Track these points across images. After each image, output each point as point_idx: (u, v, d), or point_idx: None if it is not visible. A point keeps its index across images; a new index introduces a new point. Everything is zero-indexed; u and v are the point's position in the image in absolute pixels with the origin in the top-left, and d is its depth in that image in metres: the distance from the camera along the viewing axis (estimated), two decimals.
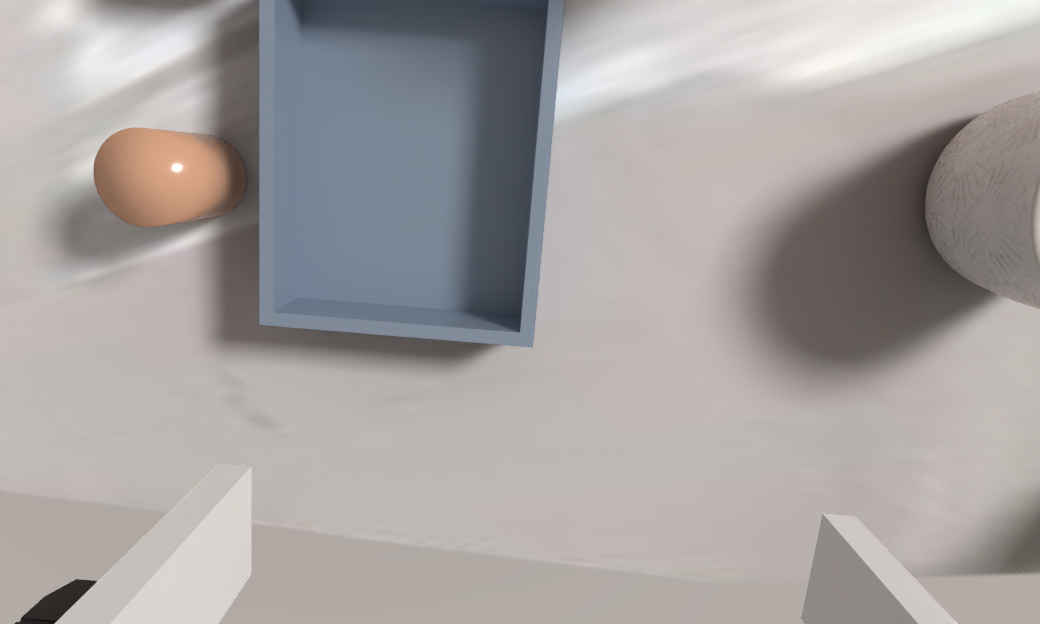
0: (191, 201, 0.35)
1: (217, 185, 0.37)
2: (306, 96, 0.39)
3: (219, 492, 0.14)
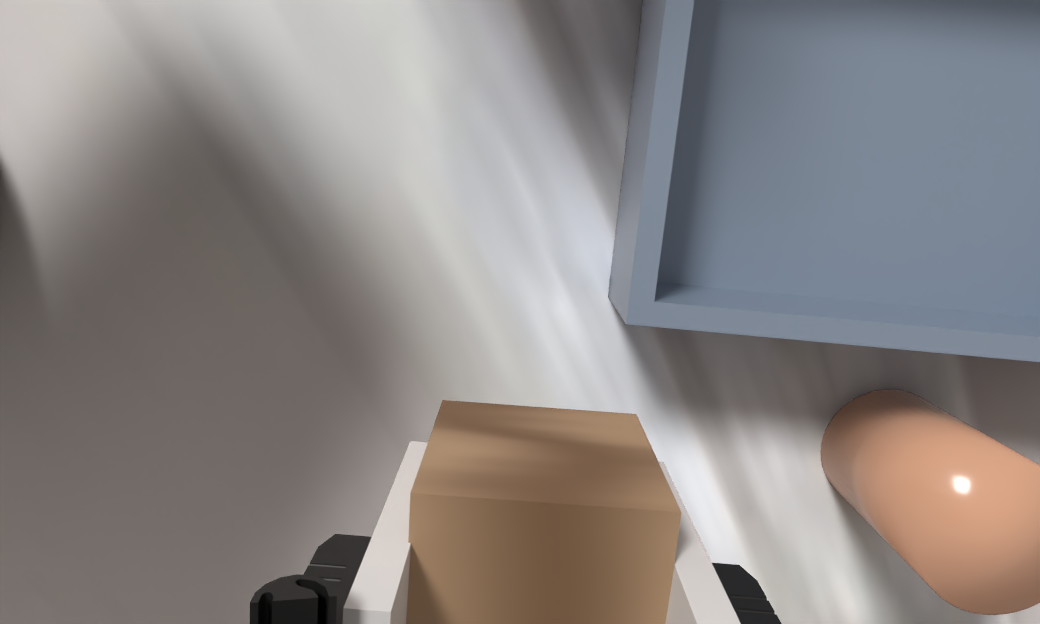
0: None
1: (966, 428, 0.22)
2: (788, 286, 0.25)
3: None
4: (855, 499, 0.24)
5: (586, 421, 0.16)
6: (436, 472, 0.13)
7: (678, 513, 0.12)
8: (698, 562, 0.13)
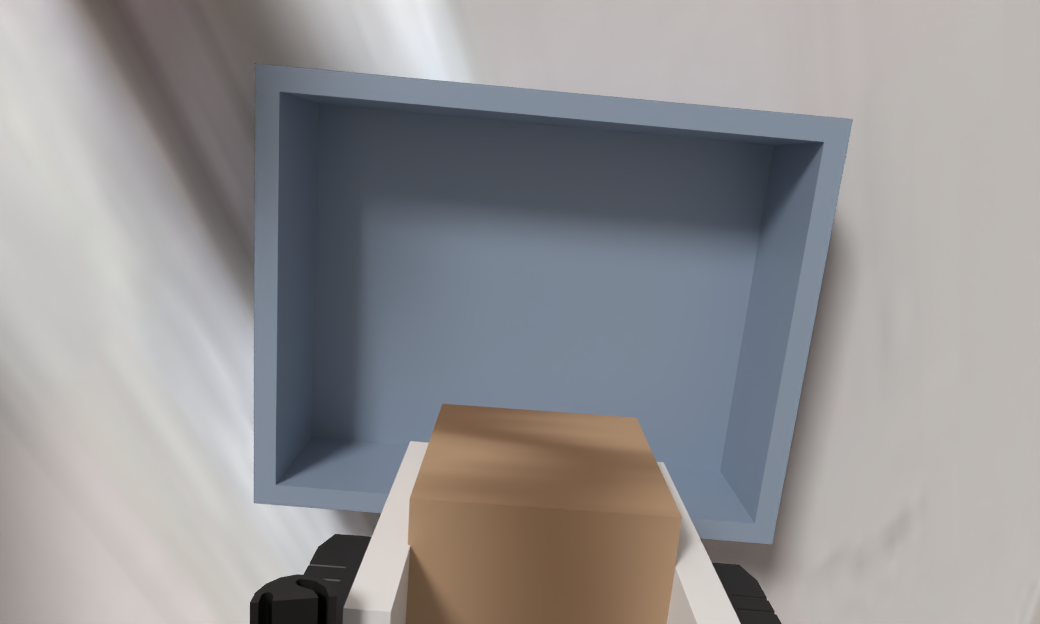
0: None
1: None
2: None
3: None
4: None
5: (586, 425, 0.16)
6: (435, 477, 0.13)
7: (678, 518, 0.12)
8: (698, 562, 0.13)
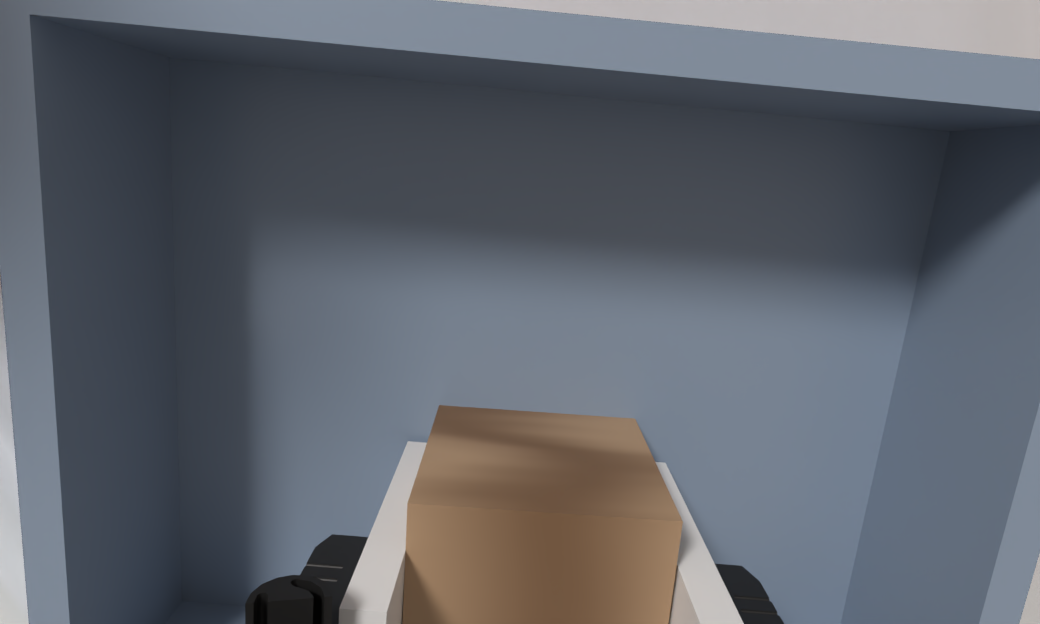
0: None
1: None
2: None
3: None
4: None
5: (585, 426, 0.16)
6: (433, 481, 0.13)
7: (679, 522, 0.12)
8: (701, 563, 0.13)
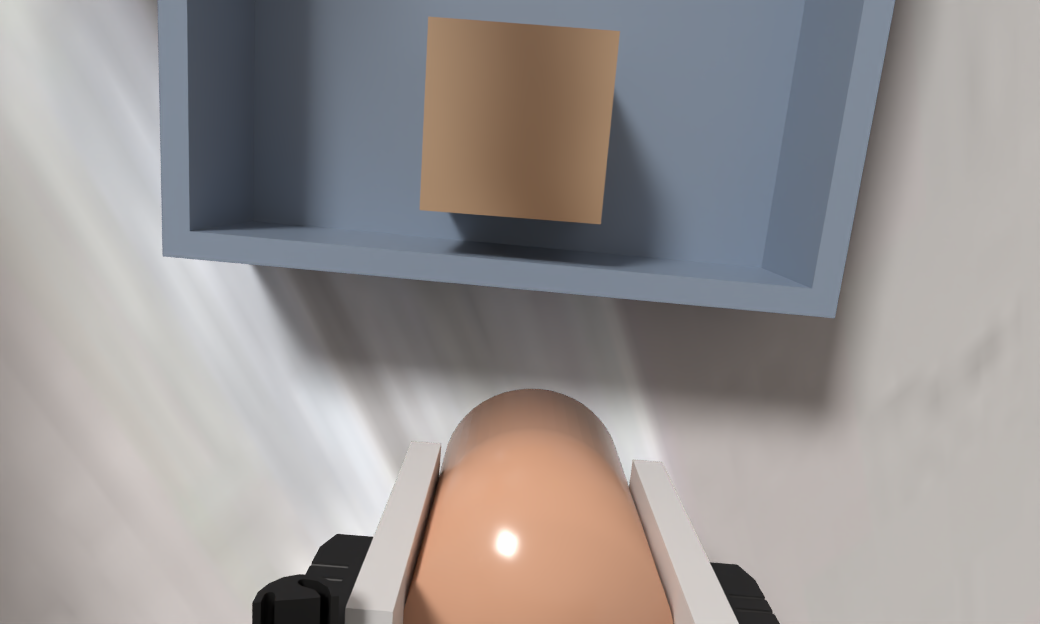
0: (604, 523, 0.12)
1: (555, 450, 0.14)
2: (417, 227, 0.23)
3: (427, 464, 0.16)
4: None
5: None
6: None
7: (617, 31, 0.17)
8: (696, 562, 0.13)
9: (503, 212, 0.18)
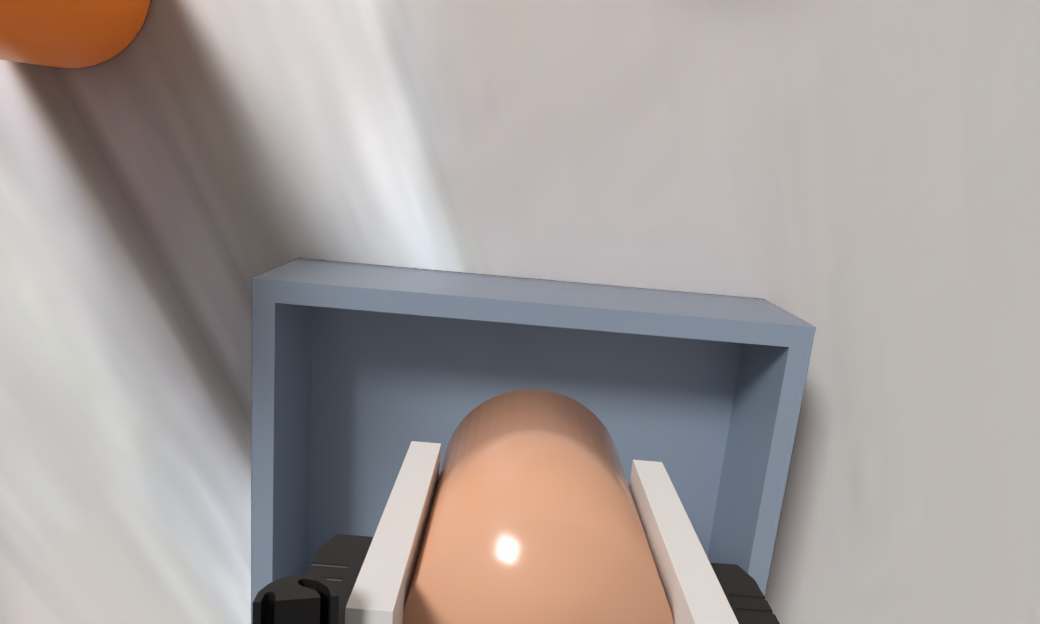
0: (604, 524, 0.12)
1: (555, 451, 0.14)
2: None
3: (427, 464, 0.16)
4: None
5: None
6: None
7: None
8: (696, 562, 0.13)
9: None
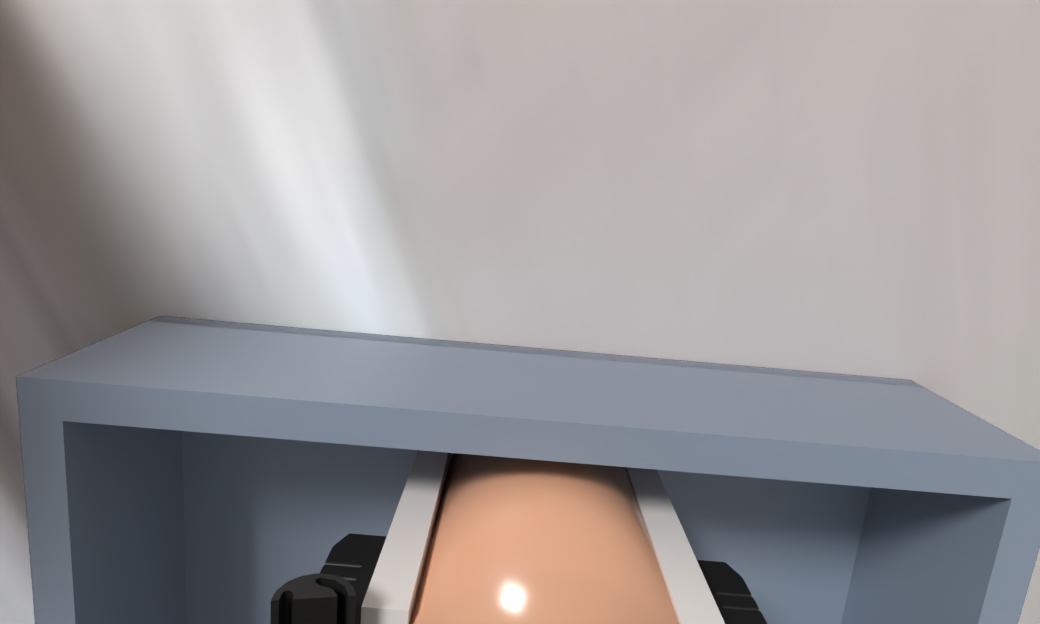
0: (622, 573, 0.11)
1: (565, 482, 0.13)
2: None
3: (438, 464, 0.16)
4: None
5: None
6: None
7: None
8: (683, 559, 0.13)
9: None
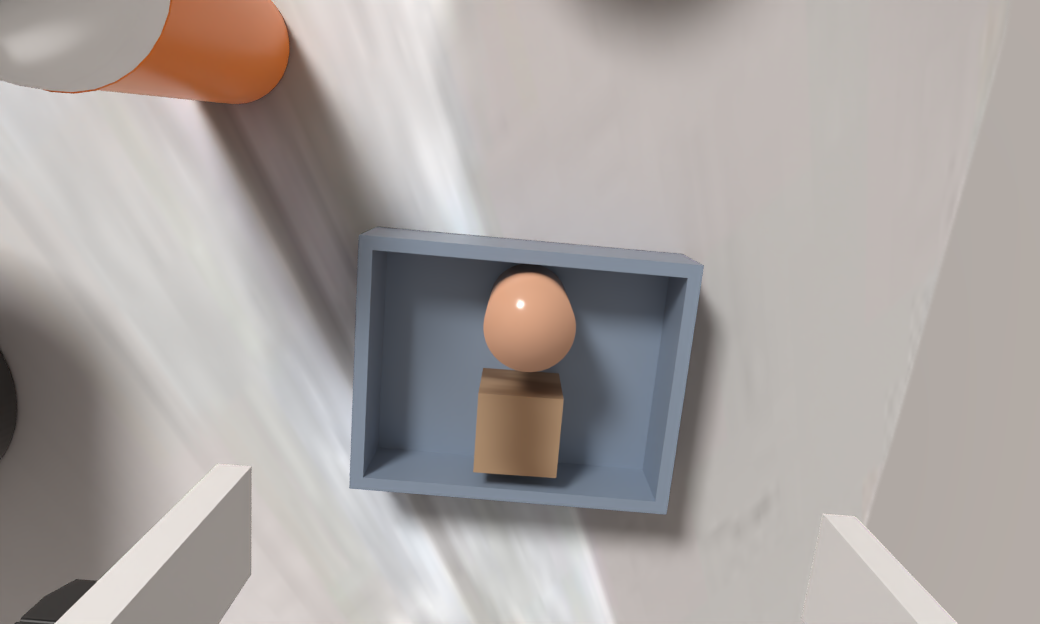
0: (552, 286, 0.36)
1: (537, 274, 0.38)
2: (464, 450, 0.45)
3: (218, 492, 0.14)
4: None
5: (538, 375, 0.43)
6: (485, 388, 0.40)
7: (562, 399, 0.39)
8: None
9: (511, 473, 0.40)
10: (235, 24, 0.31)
